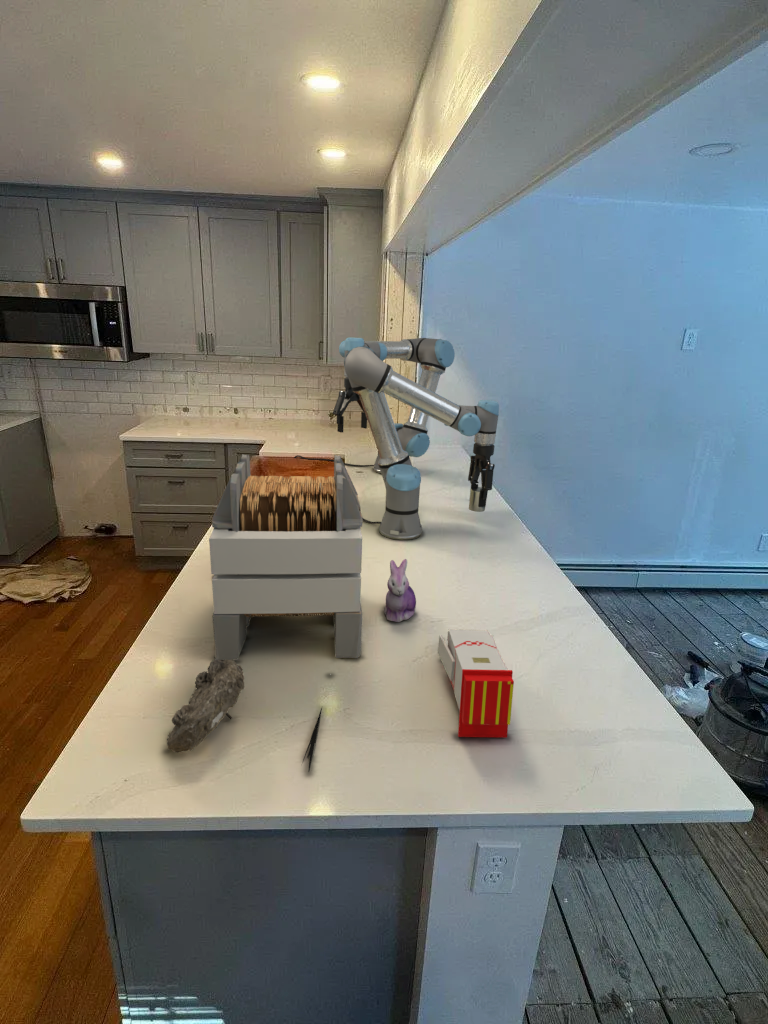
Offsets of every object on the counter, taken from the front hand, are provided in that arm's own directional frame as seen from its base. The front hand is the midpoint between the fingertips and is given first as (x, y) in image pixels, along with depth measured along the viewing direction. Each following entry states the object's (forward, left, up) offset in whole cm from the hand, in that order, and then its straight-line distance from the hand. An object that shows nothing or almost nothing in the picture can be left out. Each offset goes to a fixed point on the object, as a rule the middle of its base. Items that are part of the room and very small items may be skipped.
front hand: (477, 503), depth 214 cm
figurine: (+35, -71, -7) cm, 79 cm away
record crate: (+22, -95, -7) cm, 98 cm away
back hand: (-55, -18, +20) cm, 61 cm away
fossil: (+42, -126, -7) cm, 133 cm away
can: (0, 0, -2) cm, 2 cm away
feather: (+55, -110, -7) cm, 123 cm away
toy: (+67, -80, -7) cm, 105 cm away
